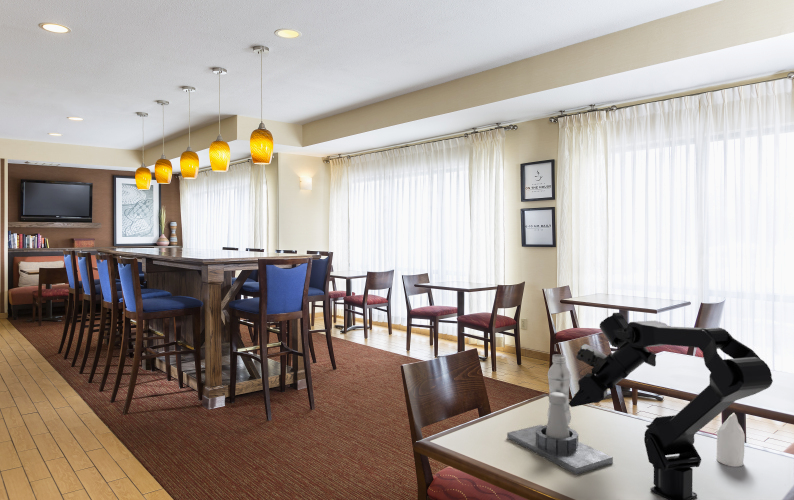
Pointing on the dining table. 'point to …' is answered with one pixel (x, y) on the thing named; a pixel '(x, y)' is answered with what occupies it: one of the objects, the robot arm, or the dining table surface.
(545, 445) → the plate with ring
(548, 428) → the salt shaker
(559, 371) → the plastic bottle
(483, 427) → the dining table surface
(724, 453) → the white pointed cylinder
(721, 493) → the dining table surface
